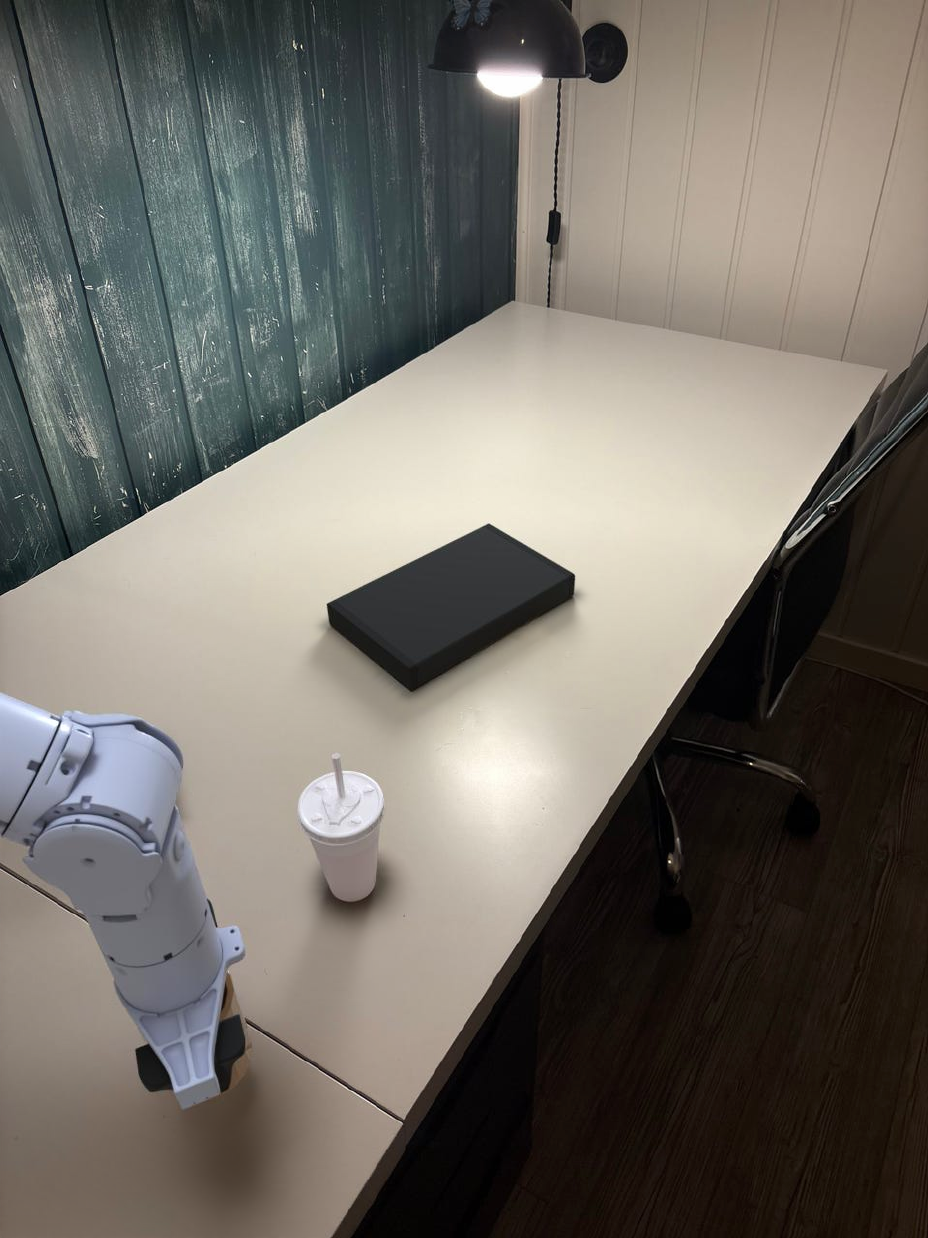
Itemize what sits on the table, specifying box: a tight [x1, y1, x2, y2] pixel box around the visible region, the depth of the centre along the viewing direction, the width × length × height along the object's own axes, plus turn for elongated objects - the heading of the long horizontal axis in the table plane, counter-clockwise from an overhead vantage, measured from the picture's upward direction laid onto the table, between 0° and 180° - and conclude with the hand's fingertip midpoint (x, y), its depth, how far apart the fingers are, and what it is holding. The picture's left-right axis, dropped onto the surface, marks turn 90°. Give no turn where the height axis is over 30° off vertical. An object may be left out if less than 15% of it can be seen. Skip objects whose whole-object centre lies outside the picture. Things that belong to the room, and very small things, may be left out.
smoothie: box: [297, 752, 386, 903], centre depth 69 cm, size 6×6×14 cm
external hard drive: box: [326, 523, 576, 692], centre depth 99 cm, size 14×23×3 cm, turn 131°
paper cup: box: [136, 970, 253, 1103], centre depth 56 cm, size 6×6×7 cm
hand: (201, 1044), depth 57 cm, fingers closed on paper cup, 5 cm apart
